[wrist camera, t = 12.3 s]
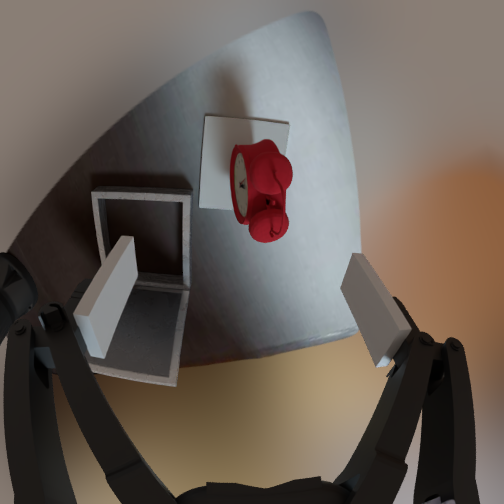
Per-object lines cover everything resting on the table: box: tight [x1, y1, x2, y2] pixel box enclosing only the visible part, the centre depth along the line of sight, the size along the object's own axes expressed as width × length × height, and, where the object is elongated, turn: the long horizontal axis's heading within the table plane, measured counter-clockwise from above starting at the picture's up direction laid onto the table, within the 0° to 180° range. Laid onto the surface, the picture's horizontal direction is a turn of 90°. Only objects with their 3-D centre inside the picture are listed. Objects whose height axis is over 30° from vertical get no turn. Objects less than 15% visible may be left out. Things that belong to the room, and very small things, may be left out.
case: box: [91, 186, 193, 292], centre depth 40 cm, size 15×16×3 cm
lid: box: [85, 285, 189, 387], centre depth 36 cm, size 15×16×1 cm
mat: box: [199, 116, 290, 210], centre depth 36 cm, size 11×13×1 cm
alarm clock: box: [230, 139, 293, 243], centre depth 30 cm, size 10×6×15 cm, turn 179°
